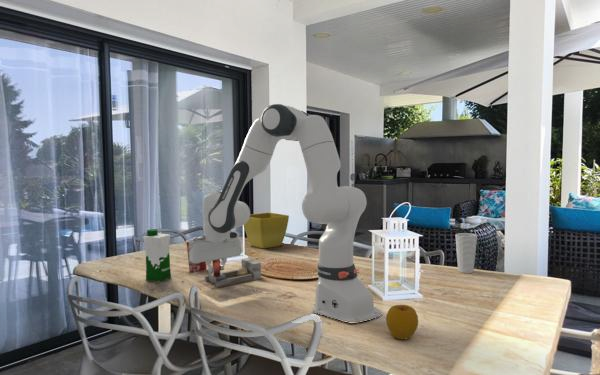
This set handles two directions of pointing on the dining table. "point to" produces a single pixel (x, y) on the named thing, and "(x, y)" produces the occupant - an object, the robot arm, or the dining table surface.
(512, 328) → the dining table surface
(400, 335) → the apple
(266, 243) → the flower pot
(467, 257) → the cup
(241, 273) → the nut
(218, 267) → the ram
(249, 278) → the cracker bed
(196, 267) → the mug
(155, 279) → the milk carton
